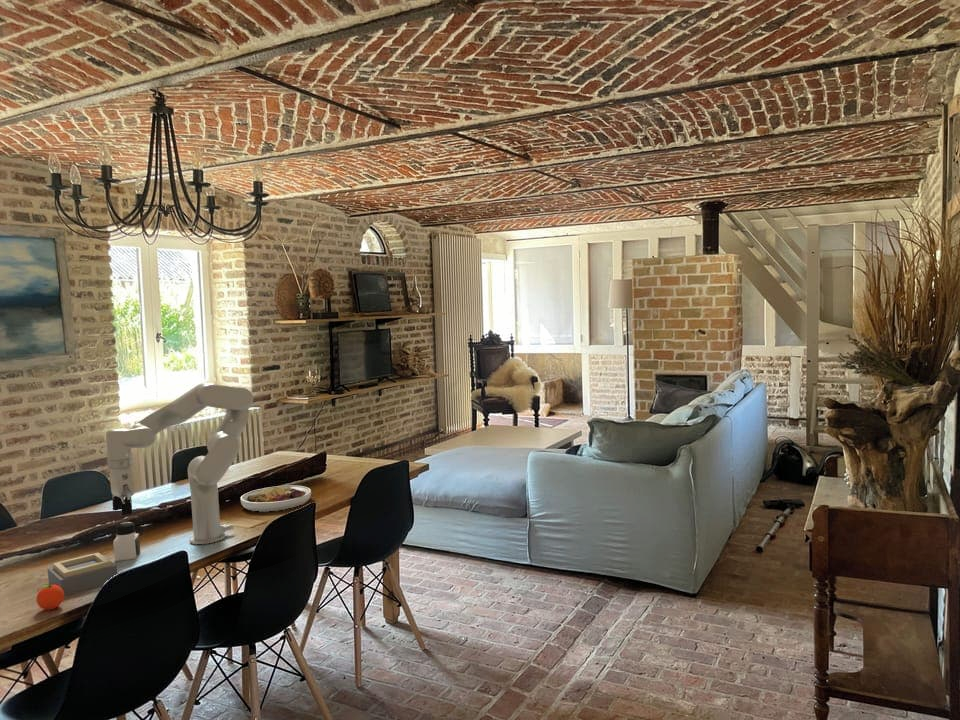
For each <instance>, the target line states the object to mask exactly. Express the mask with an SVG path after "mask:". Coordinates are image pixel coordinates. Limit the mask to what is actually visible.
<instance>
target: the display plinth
mask: <svg viewBox="0 0 960 720" xmlns="http://www.w3.org/2000/svg"><path fill="white" fill-rule="evenodd" d="M46 570H47V578H48V579H47V581H48V585H57V586H59V587H61V588H62V590H63V591H64V595H65V596H68V595H71V594H70V593H72V594H75V593H74V592H76V593H79V592H82V590H83V591H86V590H89V589H94V588H97V587H100V586H101V587H102V586H104V585H103V584H104V583H105V582H106V581H107V580H109V579H110V578H111V577H113V576H114V575H116V574H118V565H117V564H116V563H114V562H113V561H112V560H110V559H109V558H108V557H106V556H104V555H103V554H101V553H100V552H95V553H91V554H85V555H82V556H78V557H75V558H70V559H66V560H65V559H64V560H61V561H58V562H54V563H52V567H51V566H50V567H47V569H46ZM118 575H119V574H118ZM78 591H79V592H78ZM67 594H68V595H67Z"/></svg>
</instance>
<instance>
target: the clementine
mask: <svg viewBox="0 0 960 720" xmlns="http://www.w3.org/2000/svg"><path fill="white" fill-rule="evenodd" d="M35 593H36V594H37V595H36V604H37V606H39V608H41V609H43V610H46V611H49V610H50V609H51V610H54V609H56V608H58V607H59V606H60V605H61V604H62V603H63V601H64V598H65V596H64V591H63V590H62V588H61V587H59V586H57V585H50V584H46V585H43V586H42V587H39V588H38V589H37V591H36V592H35Z"/></svg>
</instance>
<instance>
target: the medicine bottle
mask: <svg viewBox="0 0 960 720" xmlns="http://www.w3.org/2000/svg"><path fill="white" fill-rule="evenodd" d="M115 536H116V537H115V538H114V540H113V543H112V545H113V557H114V561H115V562H119V561H121V562H122V561H127V560H133V559H134V560H137V558H138V557H139V556H140V553H141V545H140V544H141V543H140V533H136V524H135V523H134V522H132V521H131V522H130V521H124V522H121V523H119V524H117V525H116V526H115Z"/></svg>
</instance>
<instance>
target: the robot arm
mask: <svg viewBox="0 0 960 720" xmlns="http://www.w3.org/2000/svg"><path fill="white" fill-rule="evenodd" d="M253 403H254V395H253V393H252V392H251V391H250V390H249V389H248V388H246V387H241V386H227V385H222V384H221V385H220V384H218V383H217V384H216V383H212V382H211V383H210V382H201V383H199V384H197V385H195V386H194V387H193V388H191V389H189V390H188V391H187V392H185V393H183V394H182V395H181V396H179V397H177V398H176V399H174V400H173V401H171V402H170V403H167V404H166V405H164V406H163V407H161V408H159V409H157V410H156V411H153V412H152V413H150V414H149V415H147V416H146V417H144V418H143V419H141V420H139V421H138V422H136V423H135V424H134V425H132V426H131V427H130V428H129V429H128V428H126V427H118V428H112V429H108V430H107V431H106V434H105V436H106V437H105V438H106V439H105V440H106V457H107V469H108V470H109V471H110V472H109V475H110V480H109V481H110V492H111V494H112V496H111V498H112V500H111V501H112V511H119V510H121V515H122V516H127V515H132V514H133V503H132V502H133V501H132V496H134V494H135V492H134V481H133V474H132V469H131V468H132V467H133V462H132V449H133V448H134V449H144V448H145V449H146V448H149V447H151V446H152V445H153V444H154V443H155V441H156V435H157V434H159V433H161V432H162V431H165V429H166V430H167V429H168V428H171V427H172V426H177V425H180V424H183V423H186V422H187V421H188V420H189V419H191V418H192V417H194V416H196V415H197V414H198V413H199V412H201V411H203V410H204V409H206V408H207V407H209V408H216V409H223V410H224V409H225V410H226V411H225V415H224V417H223V419H222V421H220V423H219V425H218V426H217V428H215V430H214V432H213V433H212V434H211V436H210V437H209V438H208V441H207V442H206V443H207V444H206V448H207V451H208V452H207V454H206V455H199V456H196V457H194V458H193V459H192V460H191V461H190V462H189V463H188V466H187V478H188V483H189V490H190V503H191V514H192V515H191V516H192V519H191V520H192V530H193V531H192V533H193V536H191V537H190V538H189V543H190V544H191V543H192V545H197V544H202V545H210V544H213V543H214V542H215V543H218V542H220V541H219V540H221V541H223V540H224V539H225V538H226V533H225V532H227V531H233V530H234V525H233V524H223V525H222V524H221V517H220V515H221V514H220V504H219V501H220V500H219V489H218V483H219V481H220V480H222V479H223V476H225V474H226V473H227V471H228V470H229V468H230V467H231V466H232V464H233V463H234V461H235V460H236V458H237V457H238V454H239V452H240V446H241V445H240V442H239V440H238V439H239V438H240V436H241V434H243V433H242V432H243V431H244V430H245V428H246V426H247V424H248V422H249V417H250V412H249V411H250V409H249V408H250V407H251V406H252V405H253ZM222 539H223V540H222ZM217 541H218V542H217ZM209 543H210V544H209Z"/></svg>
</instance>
